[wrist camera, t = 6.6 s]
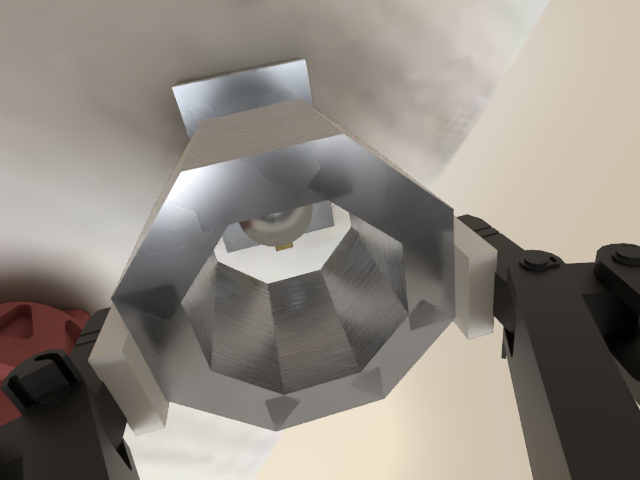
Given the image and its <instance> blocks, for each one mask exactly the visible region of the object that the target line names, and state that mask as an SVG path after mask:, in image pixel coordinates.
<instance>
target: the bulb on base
mask: <svg viewBox="0 0 640 480" xmlns="http://www.w3.org/2000/svg"><path fill="white" fill-rule="evenodd" d="M172 89H173V92H174V95H175V98H176V101H177V104H178V107H179V110H180V113H181V116H182V119H183V122H184V125H185V128H186V131H187V134H188V137H189V140H190V139H191V137H192V136H193V134H194V132H195V130H196V128H197V126H198V125H199V123H200V121H202V120H206V119H211V118H215V117H219V116H224V115H228V114H233V113H237V112H242V111H246V110H250V109H255V108H259V107H264V106H268V105H273V104H277V103H281V102H286V101H290V100H295V99H299V98H301V99H302V100H303V101H305V102H306V103H308V104H309V105H311V106H312V107H314V106H313V101H312V95H311V89H310V83H309V78H308V72H307V66H306V60H305V59H303V58H297V59H293V60H288V61H283V62H278V63H273V64H269V65H264V66H259V67H254V68H250V69H245V70H240V71H235V72H230V73H226V74H221V75H216V76H211V77H206V78H202V79H197V80H192V81H187V82H183V83H178V84H175V85H174V86H173V87H172ZM332 226H334V221H333V215H332V209H331V204H330V201H329V200H327V201H323V202H319V203H315V204H311V205H307V206H303V207H299V208H295V209H291V210H287V211H283V212H279V213H275V214H271V215H267V216H263V217H259V218H255V219H251V220H247V221H243V222H239V223H235V224H231V225H228V227H227V228H226V230H225V232H224V233H223V235H222V237H223V240H224V243H225V246H226V249H227V252H228V253H229V252H233V251H237V250H241V249H245V248H249V247H253V246H257V245H261V244H262V245H266V246H275V248H276V251H279V250H283V249H287V248H291V247H293V243H292V242H293V241H295V240H296V239H298V238H299V237H300V236H301V235H302V234H304V233H308V232H312V231H316V230H320V229H324V228H328V227H332Z"/></svg>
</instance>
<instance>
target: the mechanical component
mask: <svg viewBox="0 0 640 480" xmlns="http://www.w3.org/2000/svg"><path fill="white" fill-rule="evenodd" d="M89 319H90V316H89V314H88V313H87V312H85V311H83V310H81V309H70V310H65V311H61V310H58V309H56V308H53V307H51V306H47V305H43V304H39V303H32V302H9V303H3V304H0V426H2V425H4V424H6V423H8V422H10V421H12V420H14V419H16V418H18V417H20V416H21V413H20V412H19V410H18V409H17V408H16V407H15V405H14V404H13V403H12V402H11V401H10V399H9V398H8V397H7V396H6V395H5V393H4V392H3V391H2V390H1V385H2V383H3V380H4V379H5V378H6V376H7V375H8V374H9V373H10V372H11V371H12V370H13V369H14V368H15V367H17V366H18V365H19V364H20V363H21V362H23V361H25V360H27V359H28V358H30V357H32V356H33V355H36V354H38V353H41V352H44V351H46V350H52V349H61V350H64V351H65V352H66V353H67V354H68V356H69V355H70V353H71V351H72V349H73V348H74V347H75V343H76V341H77V339H78V338H79V337H80V333H81V331H82V329H83V327H84V325H85V323H86V322H87V321H88V320H89Z"/></svg>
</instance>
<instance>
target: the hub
mask: <svg viewBox="0 0 640 480" xmlns="http://www.w3.org/2000/svg"><path fill="white" fill-rule="evenodd" d="M327 200H329V201H331V202H333V203H334V204H336V205H338V206H339V207H341V208H343V209H344V210H346V211H348V212H349V214H350V220H351V226H352V227H351V228H350V230H349V231H348V232H347V234H346V235H345V237H344V238H343V239H342V241H341V242H340V243H339V245H338V246H337V248H336V249H335V250H334V252H333V253H332V255H331V256H330V257H329V259H328V260H327V261H326V263H325V264H324V266H323V267H322V268H321V270H318V271H314V272H311V273H307V274H303V275H299V276H296V277H292V278H288V279H284V280H281V281H277V282H273V283H270V284H266V283H264V282H262V281H260V280H258V279H255V278H253V277H251V276H249V275H246V274H244V273H242V272H240V271H238V270H235V269H233V268H231V267H229V266H226V265H224V264H222V263H220V262H218V261H217V259H216V256H215V253H214V248H215V246H216V245H217V243H218V241H219V240H220V238H221V237H222V235H223V233H224V232H225V230H226V228H227V227H228V225H231V224H235V223H239V222H243V221H247V220H251V219H255V218H259V217H263V216H267V215H271V214H275V213H279V212H283V211H287V210H291V209H295V208H299V207H303V206H307V205H311V204H315V203H319V202H323V201H327ZM453 210H454V209H453V208H451V207H450V206H449V205H448V204H446V203H445V202H444V201H442V200H441V199H440V198H438V197H437V196H436V195H434V194H433V193H432V192H430V191H429V190H428V189H426V188H425V187H424V186H422V185H421V184H420V183H418V182H417V181H416V180H414V179H413V178H412V177H410V176H409V175H408V174H406V173H405V172H404V171H402V170H401V169H400V168H398V167H397V166H396V165H394V164H393V163H392V162H391V161H389V160H388V159H387V158H385V157H384V156H383V155H381V154H380V153H379V152H377V151H376V150H374V149H373V148H371V147H370V146H368V145H367V144H365V143H364V142H363V141H361V140H360V139H358V138H357V137H355V136H354V135H352V134H351V133H350V132H348V131H347V130H345V129H344V128H342V127H341V126H340V125H338V124H337V123H335V122H334V121H332V120H331V119H329V118H328V117H327V116H325V115H324V114H322V113H321V112H319V111H318V110H316V109H315V108H314V107H312V106H311V105H309V104H308V103H306V102H305V101H303V100H302V99H301V98H299V99H295V100H290V101H286V102H281V103H277V104H273V105H268V106H264V107H259V108H255V109H250V110H246V111H242V112H237V113H233V114H228V115H224V116H219V117H215V118H211V119H206V120H202V121H200V123H199V125H198V126H197V128H196V130H195V132H194V134H193V136H192V137H191V139H190V141H189V143H188V145H187V147H186V148H185V150H184V152H183V154H182V156H181V158H180V159H179V161H178V163H177V165H176V167H175V169H174V170H173V172H172V174H171V176H170V178H169V180H168V182H167V183H166V185H165V187H164V189H163V191H162V193H161V194H160V196H159V198H158V200H157V202H156V204H155V205H154V207H153V209H152V212H151V214H150V216H149V218H148V220H147V222H146V224H145V227H144V229H143V231H142V233H141V235H140V237H139V240H138V242H137V244H136V246H135V248H134V250H133V252H132V255H131V257H130V259H129V261H128V263H127V265H126V267H125V270H124V272H123V274H122V276H121V278H120V280H119V283H118V285H117V287H116V289H115V291H114V293H113V295H112V298H111V299H112V301H113V303H114V305H115V307H116V308H117V310H118V312H119V314H120V316H121V318H122V320H123V321H124V323H125V325H126V327H127V329H128V330H129V331H130V333H131V335H132V337H133V339H134V341H135V342H136V344H137V346H138V348H139V350H140V352H141V354H142V356H143V358H144V359H145V361H146V363H147V365H148V367H149V369H150V371H151V373H152V375H153V376H154V378H155V380H156V382H157V384H158V386H159V388H160V390H161V391H162V393H163V395H164V397H165V399H166V401H169V402H173V403H177V404H180V405H184V406H187V407H191V408H194V409H198V410H201V411H205V412H209V413H212V414H216V415H219V416H223V417H226V418H230V419H234V420H237V421H241V422H244V423H248V424H251V425H255V426H258V427H262V428H266V429H269V430H273V431H279V430H283V429H286V428H289V427H293V426H296V425H299V424H302V423H306V422H309V421H312V420H316V419H319V418H322V417H326V416H328V415H332V414H335V413H338V412H342V411H345V410H349V409H352V408H355V407H358V406H362V405H365V404H368V403H371V402H375V401H378V400H381V399H384V398H385V397H386V396H387V395H388V394H389V393H390V392H391V390H392V389H393V388H394V387H395V386H396V385H397V384H398V382H399V381H400V380H401V379H402V378H403V377H404V376H405V375H406V373H407V372H408V371H409V370H410V368H412V366H413V365H414V364H415V363H416V362H417V361H418V360H419V359H420V357H421V356H422V355H423V354H424V353H425V352H426V350H427V349H428V348H429V347H430V346H431V345H432V344H433V343H434V341H435V340H436V339H437V338H438V337H439V336H440V335H441V334H442V332H443V331H444V330H445V329H446V328H447V327H448V326H449V324H450V323H451V322H452V321H453V320H454V319H455V318H456V317H455V256H454V214H453Z"/></svg>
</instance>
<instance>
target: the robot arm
mask: <svg viewBox="0 0 640 480" xmlns="http://www.w3.org/2000/svg"><path fill="white" fill-rule="evenodd" d="M454 256H455V317H456V318H455V319H454V320H453V321H454V322H455V324H456V325H457V326H458V327H459V329H460V330H461V331H462V332H463V334H464V335H465V336H466V337H467V339H468V340H469V339H473V338H476V337H479V336H483V335H486V334H490V333H493V328H494V316H495V317H496V318H497V319H498V321H499V322H500V323H501V324H502V325H503V326H504V328H503V344H502V358H504V359H506V355H507V359H508V365H509V369H510V374H511V378H512V382H513V388H514V392H515V397H516V401H517V406H518V411H519V415H520V420H521V425H522V429H523V434H524V438H525V443H526V448H527V452H528V457H529V462H530V466H531V471H532V475H533V480H640V410H639V408H638V406H637V403H638V404H639V405H640V246H637V245H634V244H625V243H621V244H610V245H606V246H602V247H601V248H600V249H599V250H598V251H597V255H596V260H595V262H591V263H573V264H565V263H564V262H563V261H562V259H561V258H560V257H558V256H556V255H554V254H552V253H548V252H544V251H539V250H523V249H522V248H521V247H519V246H518V245H516V244H515V243H514V242H512V241H511V240H510V239H508V238H507V237H505V236H504V235H503V234H500V233H499V231H497V230H496V229H494V228H491V226H490V225H489V224H487V223H486V222H485V221H483V220H482V219H480V218H477V217H473V216H471V215H468V214H467V215H463V216H459V217H455V216H454ZM1 390H2V391H3V392H4V393H5V395H6V396H7V397H8V398H9V399H10V401H11V402H12V403H13V404H14V405H15V407H16V408H17V409H18V410H19V412H20V413H21V416H20V417H18V418H16V419H14V420H12V421H10V422H8V423H6V424H4V425H2V426H0V480H140V479H139V476H138V473H137V470H136V467H135V464H134V460H133V457H132V454H131V451H130V448H129V446H128V445H127V443H126V442H125V440H124V439H123V434H124V431H125V427H126V423H128V425H129V426H130V428H131V429H132V431H133V432H134V434H135V436H137V435H141V434H144V433H148V432H151V431H154V430H158V429H161V428H165V425H166V419H167V413H168V407H169V401H166V399H165V397H164V395H163V393H162V391H161V390H160V388H159V386H158V384H157V382H156V380H155V378H154V376H153V375H152V373H151V371H150V369H149V367H148V365H147V363H146V361H145V359H144V358H143V356H142V354H141V352H140V350H139V348H138V346H137V344H136V342H135V341H134V339H133V337H132V335H131V333H130V331H129V330H128V329H127V327H126V325H125V323H124V321H123V320H122V318H121V316H120V314H119V312H118V310H117V308H116V307H115V305H114V303H113V304H112V306H111V307H110V308H106V309H102V310H98V311H97V312H96V313H95V314H94V315H93V316H92V317H91V318H90V319H89V320H88V321H87V322H86V323H85V325H84V327H83V329H82V331H81V333H80V337H79V338H78V339H77V341H76V343H75V347H74V348H73V349H72V351H71V353H70V355H69V356H68V354H67V353H66V352H65V351H64V350H61V349H52V350H46V351H44V352H41V353H38V354H36V355H33V356H32V357H30V358H28V359H27V360H25V361H23V362H21V363H20V364H19V365H18V366H17V367H15V368H14V369H13V370H12V371H11V372H10V373H9V374H8V375H7V376H6V378H5V379H4V380H3V383H2V385H1ZM634 399H635V400H634ZM636 402H637V403H636Z"/></svg>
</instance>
